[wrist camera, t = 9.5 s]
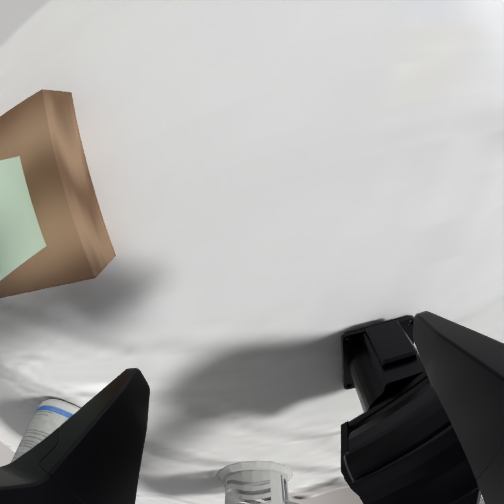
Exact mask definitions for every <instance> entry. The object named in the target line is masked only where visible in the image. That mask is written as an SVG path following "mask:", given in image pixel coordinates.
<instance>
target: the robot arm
mask: <svg viewBox="0 0 504 504" xmlns="http://www.w3.org/2000/svg"><path fill="white" fill-rule="evenodd" d="M410 321H411V322H410ZM409 322H410V323H409ZM347 338H349V339H347ZM346 339H347V340H346ZM414 343H415V345H416V347H417V349H416V348H415V346H414ZM341 346H342V370H343V386H344V388H345V389H352V388H356V391H357V394H358V397H359V399H360V402H361V405H362V408H363V411H364V413H363V414H361V415H359V416H358V417H356V418H354V419H353V420H351V421H349V422H348V421H347V422H345V423H344V424H342V425H341V472H342V474H343V476H344V479H345V481H346V482H347V483H348V485H349V486H350V488H351V489H352V490H353V491H354V492H355V493H356V494H357V495H359V497H360V499H361V500H362V502H363V504H504V343H501V342H499V341H497V340H494V339H492V338H490V337H487V336H485V335H483V334H480V333H478V332H476V331H473V330H471V329H469V328H466V327H464V326H461V325H459V324H457V323H454V322H452V321H450V320H447V319H445V318H442V317H440V316H438V315H435V314H433V313H431V312H428V311H424V312H421V313H418V314H416V315H415V317H414V316H412V315H411V316H407V317H403V318H400V319H396V320H393V321H389V322H385V323H382V324H378V325H374V326H370V327H366V328H362V329H358V330H354V331H350V332H346V333H344V334H343V335H342V337H341ZM417 350H418V351H417ZM418 352H419V353H418ZM149 396H150V388H149V385H148V383H147V381H146V380H145V378H144V376H143V374H142V373H141V371H140V370H139V369H138V368H129V369H126V370H125V371H124V372H122V373H121V374H120V375H119V376H118V377H117V378H115V379H114V380H113V381H112V382H111V383H110V384H108V385H107V386H106V387H105V388H104V389H103V390H101V391H100V392H99V393H98V394H97V395H96V396H94V397H93V398H92V399H91V400H90V401H89V402H87V403H86V404H85V405H84V406H83V407H82V408H80V409H79V410H78V411H77V412H76V413H75V414H73V415H72V416H71V417H70V418H69V419H67V420H66V421H65V422H64V423H63V424H62V425H60V427H58V428H57V429H56V430H54V431H53V432H52V433H51V434H50V435H48V436H47V437H46V438H45V439H44V440H42V441H41V442H40V443H38V444H37V445H36V446H34V447H33V448H31V449H30V450H29V451H27V452H26V453H24V454H23V455H21V456H20V457H19V458H17V459H16V460H14V461H13V462H11V463H10V464H8V465H5V466H2V467H0V504H135V499H136V492H137V485H138V479H139V472H140V466H141V460H142V454H143V448H144V442H145V437H146V431H147V422H148V408H149ZM481 494H482V497H483V499H482V497H481ZM483 500H484V501H483ZM484 502H485V503H484Z"/></svg>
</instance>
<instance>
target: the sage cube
mask: <svg viewBox="0 0 504 504" xmlns="http://www.w3.org/2000/svg"><path fill="white" fill-rule="evenodd" d="M45 247H46V243H45V241H44V238H43V235H42V232H41V230H40V227H39V224H38V221H37V218H36V215H35V211H34V208H33V205H32V202H31V198H30V195H29V191H28V188H27V184H26V180H25V177H24V173H23V169H22V164H21V160H20V156H18V157H13V158H9V159H5V160H1V161H0V281H1V280H2V279H3V278H4V277H6V276H7V275H8V274H9V273H11V272H12V271H13V270H15V269H16V268H17V267H19V266H20V265H21V264H23V263H24V262H25V261H27V260H28V259H29V258H31V257H32V256H33V255H35V254H36V253H38V252H39V251H40V250H42V249H43V248H45Z"/></svg>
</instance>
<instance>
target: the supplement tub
mask: <svg viewBox="0 0 504 504" xmlns="http://www.w3.org/2000/svg"><path fill="white" fill-rule="evenodd" d="M79 409H80V408H79V407H77V406H75V405H72V404H70V403H67V402H65V401H62V400H57V399H48V400H45V401H43V402H42V403H41V404H40V406H39V407H38V409H37V411H36V413H35V415H34V417H33V419H32V420H31V422H30V424H29V426H28V428H27V430H26V432H25V434H24V436H23V438H22V440H21V442H20V444H19V446H18V448H17V450H16V453H15V455H14V457H13V459H12V461H11V462H13V461H14V460H16V459H17V458H19V457H20V456H21V455H23V454H24V453H26V452H27V451H29V450H30V449H31V448H33V447H34V446H36V445H37V444H38V443H40V442H41V441H42V440H44V439H45V438H46V437H47V436H48V435H50V434H51V433H52V432H53V431H54V430H56V429H57V428H58V427H60V425H62V424H63V423H64V422H65V421H66V420H67V419H69V418H70V417H71V416H72V415H73V414H75V413H76V412H77V411H78V410H79Z"/></svg>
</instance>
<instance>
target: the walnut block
mask: <svg viewBox="0 0 504 504" xmlns="http://www.w3.org/2000/svg"><path fill="white" fill-rule="evenodd" d="M18 156H20V160H21V164H22V169H23V173H24V177H25V180H26V184H27V188H28V191H29V195H30V198H31V202H32V205H33V208H34V211H35V215H36V218H37V221H38V224H39V227H40V230H41V232H42V235H43V238H44V241H45V243H46V247H45V248H43V249H42V250H40V251H39V252H38V253H36V254H35V255H33V256H32V257H31V258H29V259H28V260H27V261H25V262H24V263H23V264H21V265H20V266H19V267H17V268H16V269H15V270H13V271H12V272H11V273H9V274H8V275H7V276H6V277H4V278H3V279H2V280H1V281H0V298H3V297H7V296H12V295H17V294H21V293H26V292H31V291H36V290H40V289H45V288H50V287H55V286H59V285H64V284H69V283H74V282H78V281H83V280H88V279H93V278H96V277H97V276H98V274H99V273H100V272H101V271H102V270H103V269H104V268H105V267H106V266H107V264H108V263H109V262H110V261H111V260H112V259H113V258H114V257H115V256H116V255H115V252H114V249H113V247H112V244H111V241H110V238H109V235H108V232H107V229H106V226H105V223H104V220H103V217H102V214H101V211H100V208H99V204H98V201H97V198H96V195H95V191H94V188H93V184H92V181H91V177H90V174H89V170H88V166H87V162H86V158H85V154H84V150H83V146H82V142H81V138H80V133H79V129H78V124H77V120H76V115H75V110H74V104H73V99H72V93H71V92H62V91H53V90H40V91H39V92H37V93H35V94H34V95H32V96H31V97H29V98H27V99H26V100H24V101H23V102H21V103H20V104H18V105H16V106H15V107H13V108H12V109H11V110H9V111H8V112H6V113H5V114H3V115H2V116H0V161H1V160H5V159H9V158H13V157H18Z"/></svg>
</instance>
